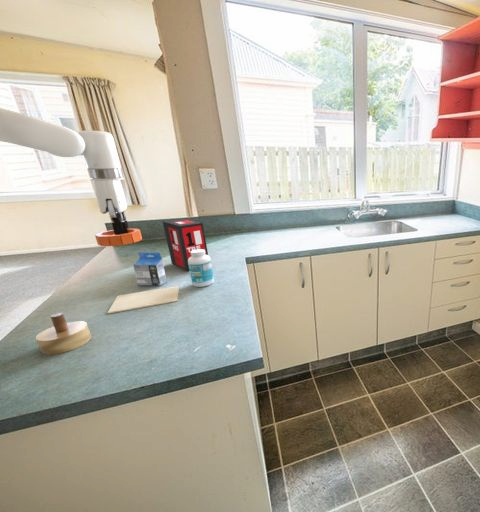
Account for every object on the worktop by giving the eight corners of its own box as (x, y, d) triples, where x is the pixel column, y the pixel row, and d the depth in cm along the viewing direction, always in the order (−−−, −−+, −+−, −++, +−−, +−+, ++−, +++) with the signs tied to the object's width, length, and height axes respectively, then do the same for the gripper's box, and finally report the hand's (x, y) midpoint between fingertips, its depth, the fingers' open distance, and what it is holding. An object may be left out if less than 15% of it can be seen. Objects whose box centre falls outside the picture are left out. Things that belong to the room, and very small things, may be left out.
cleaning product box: (172, 264, 136) (162, 221, 130) (192, 259, 143) (184, 218, 137) (189, 271, 127) (179, 226, 121) (210, 266, 134) (202, 222, 128)
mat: (107, 314, 92) (107, 312, 92) (118, 296, 103) (117, 295, 103) (176, 301, 101) (176, 300, 101) (179, 286, 112) (179, 285, 112)
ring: (93, 247, 85) (90, 237, 84) (103, 239, 94) (101, 230, 93) (138, 243, 90) (135, 233, 89) (144, 235, 99) (142, 227, 98)
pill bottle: (187, 285, 113) (180, 252, 109) (204, 279, 120) (198, 247, 116) (202, 288, 111) (196, 254, 107) (219, 281, 117) (213, 249, 113)
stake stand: (33, 359, 71) (21, 328, 69) (50, 339, 79) (39, 311, 76) (85, 347, 76) (75, 318, 73) (95, 330, 83) (87, 303, 81)
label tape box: (137, 285, 112) (129, 255, 109) (145, 281, 116) (138, 251, 113) (160, 286, 112) (153, 255, 109) (168, 282, 116) (161, 252, 113)
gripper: (97, 173, 94) (113, 230, 100) (80, 176, 81) (100, 240, 87) (128, 173, 98) (141, 227, 103) (116, 176, 85) (132, 238, 90)
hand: (122, 233), depth 95 cm, fingers closed on ring, 1 cm apart
